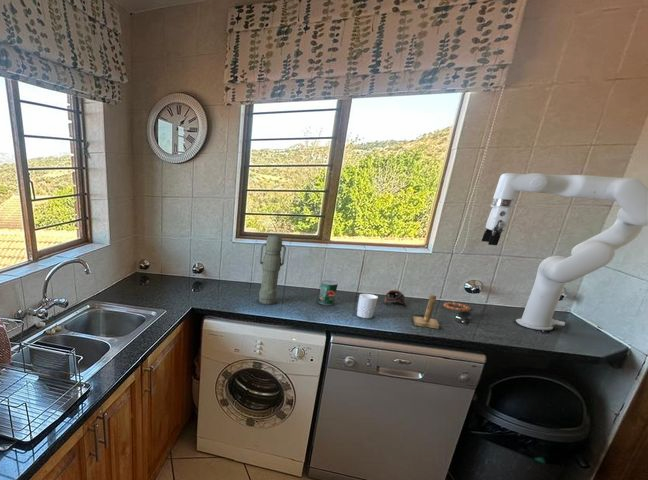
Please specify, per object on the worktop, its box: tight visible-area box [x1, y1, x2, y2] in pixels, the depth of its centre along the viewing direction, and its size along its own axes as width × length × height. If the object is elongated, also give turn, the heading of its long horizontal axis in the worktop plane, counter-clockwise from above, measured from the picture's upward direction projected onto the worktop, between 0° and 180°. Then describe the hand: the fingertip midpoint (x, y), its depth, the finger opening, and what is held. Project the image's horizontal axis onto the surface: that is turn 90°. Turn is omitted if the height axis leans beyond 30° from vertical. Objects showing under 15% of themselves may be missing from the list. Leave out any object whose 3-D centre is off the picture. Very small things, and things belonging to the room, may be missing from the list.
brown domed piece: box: [383, 289, 406, 306], centre depth 210 cm, size 12×10×8 cm
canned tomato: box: [317, 280, 339, 306], centre depth 210 cm, size 8×8×11 cm
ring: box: [442, 302, 472, 312], centre depth 203 cm, size 11×11×2 cm
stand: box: [412, 294, 440, 330], centre depth 181 cm, size 9×9×14 cm
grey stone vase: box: [258, 233, 287, 305], centre depth 206 cm, size 9×12×35 cm
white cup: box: [356, 293, 379, 319], centre depth 191 cm, size 8×8×10 cm
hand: (489, 243), depth 180 cm, fingers open, 9 cm apart
